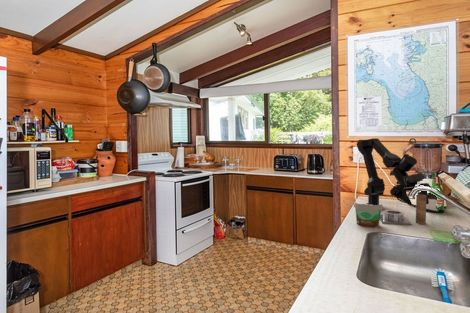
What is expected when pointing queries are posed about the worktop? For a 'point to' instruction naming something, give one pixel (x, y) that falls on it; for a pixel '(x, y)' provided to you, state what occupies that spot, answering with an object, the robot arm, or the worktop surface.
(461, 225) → the worktop surface
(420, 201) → the brown wooden cylinder
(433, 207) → the spread jar
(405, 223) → the bracket
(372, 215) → the food container
